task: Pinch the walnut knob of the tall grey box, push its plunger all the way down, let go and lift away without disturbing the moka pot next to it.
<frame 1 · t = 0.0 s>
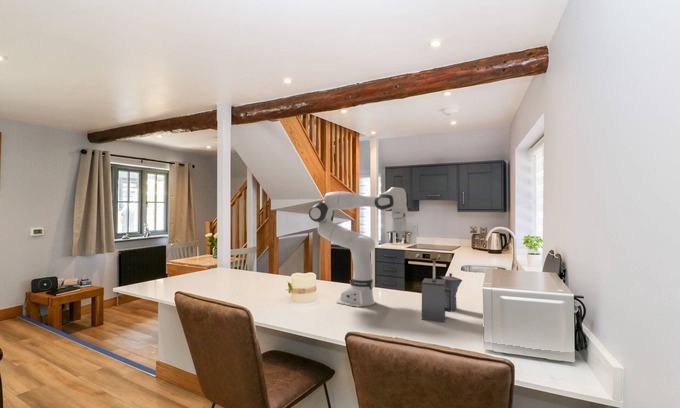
hand: (402, 238, 201), 39 cm above the breakfast bar, tool pointing down, fingers open, 8 cm apart
plunger: (434, 274, 181), point 23 cm above the breakfast bar, slide at 9.0 cm
moka pot: (447, 309, 198), on the breakfast bar
tall grey box: (433, 318, 181), on the breakfast bar
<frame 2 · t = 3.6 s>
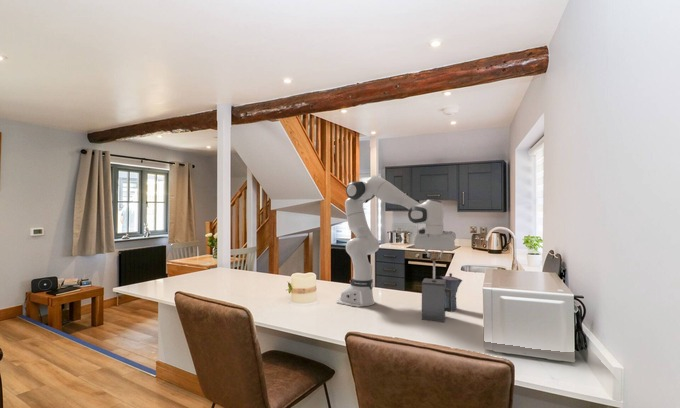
hand: (434, 257, 181), 31 cm above the breakfast bar, tool pointing down, fingers closed on plunger, 4 cm apart
plunger: (434, 274, 181), point 22 cm above the breakfast bar, slide at 9.0 cm, touching gripper
everything else where it was.
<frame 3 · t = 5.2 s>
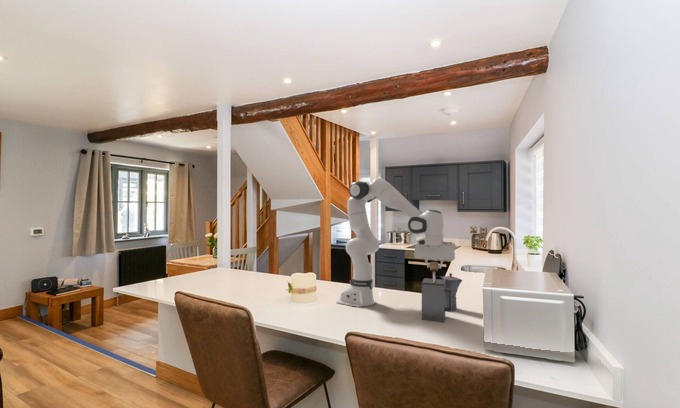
hand: (434, 268, 181), 26 cm above the breakfast bar, tool pointing down, fingers closed on plunger, 4 cm apart
plunger: (434, 284, 181), point 17 cm above the breakfast bar, slide at 3.5 cm, touching gripper
everything else where it was.
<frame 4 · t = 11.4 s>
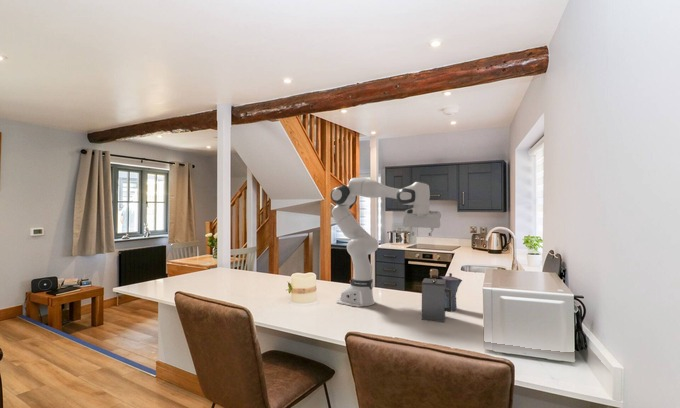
hand: (421, 235, 195), 41 cm above the breakfast bar, tool pointing down, fingers open, 8 cm apart
plunger: (433, 292, 181), point 13 cm above the breakfast bar, slide at -0.1 cm
everything else where it was.
at the end: plunger slide at -0.1 cm; the gripper is holding nothing; moka pot moved 0.2 cm from its start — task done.
